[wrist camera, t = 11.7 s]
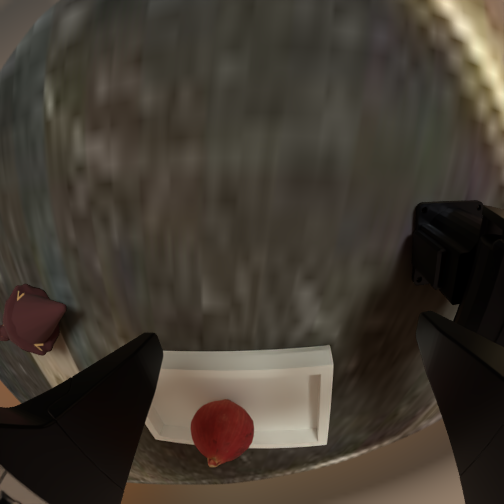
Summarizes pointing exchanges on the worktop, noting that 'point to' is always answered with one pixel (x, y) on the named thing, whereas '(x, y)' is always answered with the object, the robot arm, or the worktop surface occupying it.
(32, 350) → the dark red toy figure
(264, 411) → the tray
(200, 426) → the onion
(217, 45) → the worktop surface
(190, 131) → the worktop surface
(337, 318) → the worktop surface
